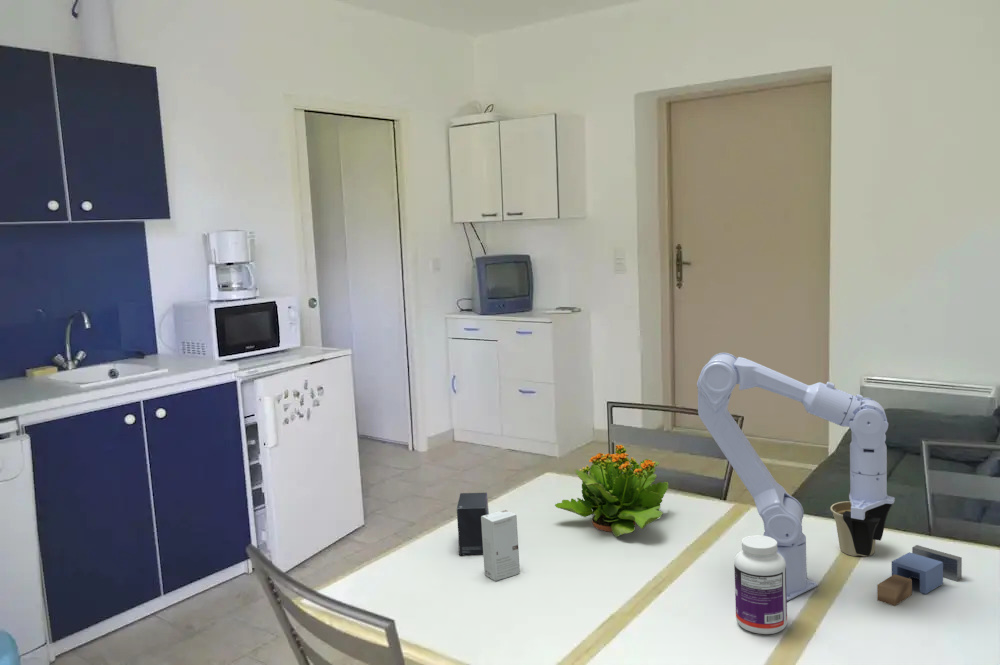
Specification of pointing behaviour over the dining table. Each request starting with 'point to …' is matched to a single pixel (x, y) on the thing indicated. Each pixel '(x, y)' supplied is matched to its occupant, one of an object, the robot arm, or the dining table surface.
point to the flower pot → (845, 529)
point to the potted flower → (618, 492)
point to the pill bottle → (760, 586)
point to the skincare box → (500, 545)
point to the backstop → (950, 562)
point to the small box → (471, 522)
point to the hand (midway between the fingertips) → (868, 546)
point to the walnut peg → (894, 589)
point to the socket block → (919, 570)
